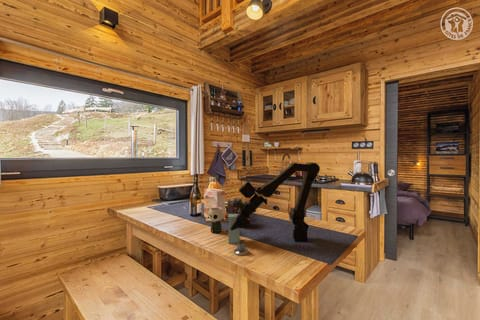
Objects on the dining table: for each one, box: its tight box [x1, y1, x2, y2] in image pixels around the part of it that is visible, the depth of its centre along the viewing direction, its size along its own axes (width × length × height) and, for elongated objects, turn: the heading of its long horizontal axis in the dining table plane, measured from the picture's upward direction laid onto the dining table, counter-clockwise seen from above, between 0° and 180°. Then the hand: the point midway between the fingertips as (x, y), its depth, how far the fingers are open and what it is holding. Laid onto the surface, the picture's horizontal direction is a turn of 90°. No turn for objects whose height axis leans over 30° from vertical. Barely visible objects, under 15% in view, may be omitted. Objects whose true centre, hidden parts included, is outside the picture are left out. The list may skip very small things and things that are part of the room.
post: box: [233, 240, 249, 256], centre depth 99 cm, size 6×6×4 cm
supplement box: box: [227, 197, 243, 215], centre depth 136 cm, size 9×5×16 cm, turn 143°
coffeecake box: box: [203, 187, 226, 218], centre depth 152 cm, size 15×7×20 cm, turn 45°
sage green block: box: [227, 213, 241, 245], centre depth 111 cm, size 5×5×13 cm
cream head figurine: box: [208, 207, 225, 234], centre depth 125 cm, size 11×7×13 cm, turn 61°
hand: (231, 227), depth 111 cm, fingers open, 7 cm apart
